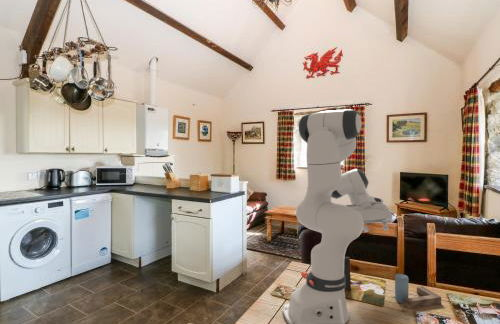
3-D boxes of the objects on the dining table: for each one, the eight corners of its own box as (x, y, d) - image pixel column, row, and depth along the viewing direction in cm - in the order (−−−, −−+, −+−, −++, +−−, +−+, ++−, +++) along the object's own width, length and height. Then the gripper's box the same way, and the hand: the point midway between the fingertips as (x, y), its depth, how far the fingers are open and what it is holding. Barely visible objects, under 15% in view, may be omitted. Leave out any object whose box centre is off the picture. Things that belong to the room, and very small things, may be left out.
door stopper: (351, 290, 110) (351, 261, 109) (335, 288, 111) (335, 260, 111) (347, 280, 119) (347, 253, 118) (333, 278, 120) (333, 252, 120)
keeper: (400, 303, 100) (401, 279, 99) (392, 297, 104) (392, 274, 104) (411, 302, 100) (411, 278, 100) (402, 296, 105) (402, 273, 104)
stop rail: (409, 308, 96) (409, 301, 96) (392, 296, 105) (392, 289, 105) (441, 303, 99) (441, 297, 99) (422, 292, 107) (422, 286, 107)
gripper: (345, 201, 121) (358, 228, 111) (385, 198, 125) (401, 225, 115) (339, 209, 125) (351, 236, 116) (378, 206, 129) (393, 232, 120)
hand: (376, 230), depth 116 cm, fingers open, 8 cm apart
